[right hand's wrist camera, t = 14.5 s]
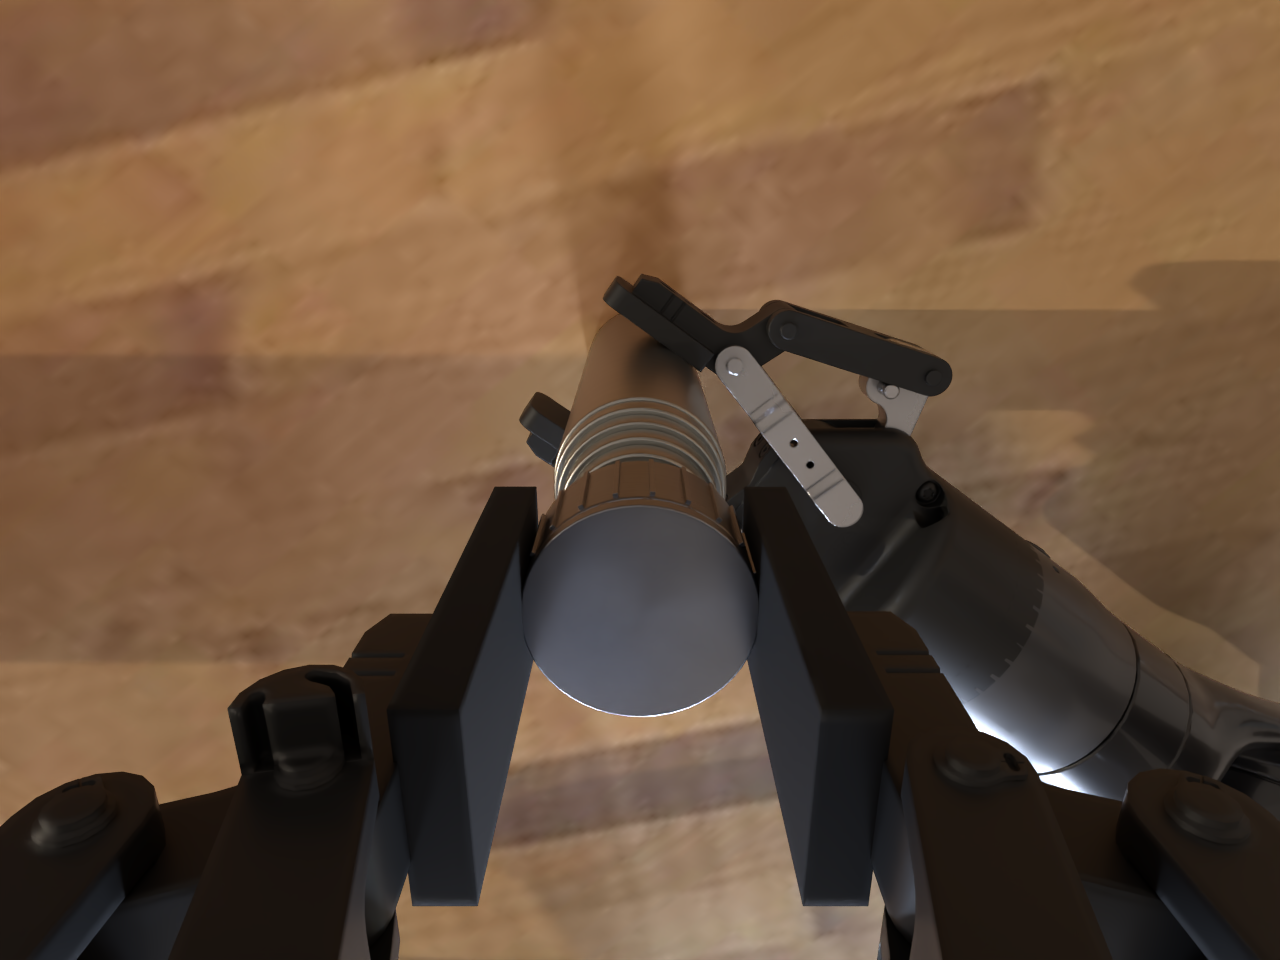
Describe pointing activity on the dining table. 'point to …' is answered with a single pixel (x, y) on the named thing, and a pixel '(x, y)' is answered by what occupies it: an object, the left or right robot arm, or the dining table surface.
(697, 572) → the cap
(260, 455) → the dining table surface
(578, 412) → the bottle
